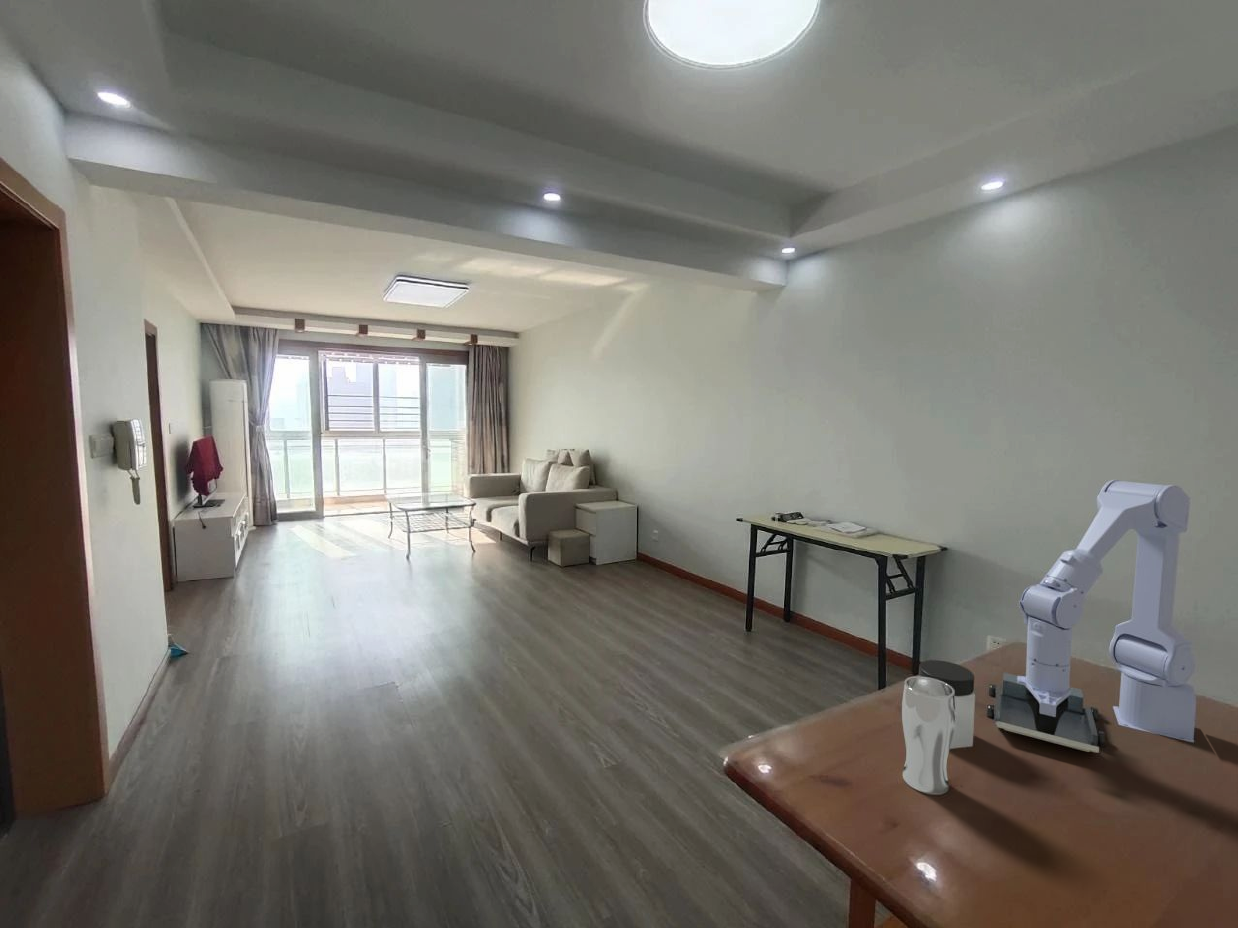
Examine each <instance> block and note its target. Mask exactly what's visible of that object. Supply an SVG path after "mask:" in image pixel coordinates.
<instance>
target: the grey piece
mask: <svg viewBox="0 0 1238 928" xmlns="http://www.w3.org/2000/svg"><path fill="white" fill-rule="evenodd" d="M1002 673H1003V674H1002V686H999V685H996V684H991V683H989V689H988V690H989V691H988V695H989V696H990V697H995V701H994V704H990V703H988V704H987V709H986V714H987V715H986V717H988V718H991V719H993V723H995V721H996V722H998V721H1000V722H1003V723H1007V724H1011V725H1015V726H1019V727H1023V728H1027V729H1031V730H1035V731H1036V727H1035V721H1034V715H1033V712H1032V709H1031V707H1030V705H1029V703H1028V701H1027V699H1026V688H1027V687H1026V686H1024V685H1021V684H1018V683H1017V677H1018V676H1019V675H1015V674H1010V673H1006V672H1002ZM1069 687H1070V688H1071V693H1070V695H1069V696H1068V705H1069V706H1068V709H1067V710H1066V711H1065V712H1064V713H1063V714H1062V716H1061V717H1060V719H1059V722H1058V725H1057V728H1056V731H1055V734H1054V736H1058V737H1062V738H1066V739H1069V740H1073V741H1077V742H1081V743H1085V744H1089V745H1093V746H1097V747H1098V746H1099V747H1104V748H1105V747H1106V734H1105V732H1103V731H1099V730H1097V727H1096V723H1095V721H1096V722H1099V721H1098V720H1099V708H1098V707H1094V706H1087V705H1084V694H1083V690H1082V689H1080V688H1076V687H1072V686H1069ZM1083 707H1084V709H1083ZM1083 710H1084V714H1083Z"/></svg>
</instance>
